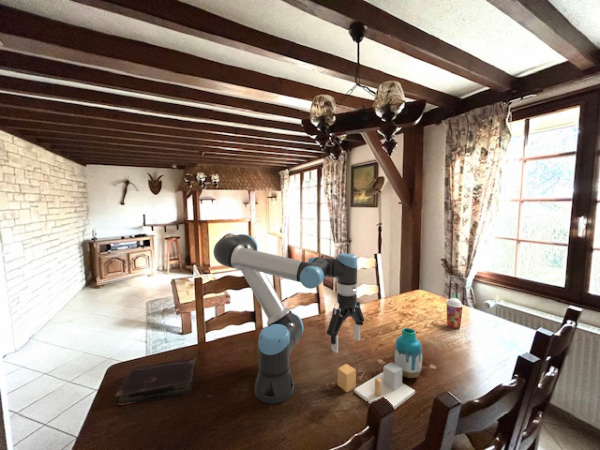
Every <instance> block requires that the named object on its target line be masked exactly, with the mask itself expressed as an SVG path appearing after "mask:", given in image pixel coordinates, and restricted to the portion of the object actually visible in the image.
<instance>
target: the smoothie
mask: <svg viewBox="0 0 600 450" xmlns="http://www.w3.org/2000/svg"><path fill="white" fill-rule="evenodd" d="M463 307H464V305H463V303H462V301H461V300H460V299H458V298H457V297H456V293H453V297H451V298H449V299H448V300H447V301H446V324H447V326H448V327H449V328H450V327H451V328H450V329H453V328H454V329H453V330H457V329H460V327H461V324H462V315H463V309H464V308H463Z"/></svg>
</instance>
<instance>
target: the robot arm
mask: <svg viewBox="0 0 600 450" xmlns="http://www.w3.org/2000/svg"><path fill="white" fill-rule="evenodd" d="M213 257H214V259H215V260H216V262H217V263H218V264H220V265H222V266H224V267H228V268H231V269H236V271H237V270H238V271H240V272H241V273H242V275H243V276H244V278H245V280H246V282H247V284H248V285H249V288H250V289H251V291H252V292H253V295H254V296H255V298H256V300H257V301H258V304H259V305H260V306H261V309H262V310H263V312H264V314H265V316H266V317H267V322H266V325H267V326H265V327H264V328H262V329H261V331H260V332H259V335H258V342H257V345H258V346H257V347H258V372H257V377H256V379H255V383H254V394H255V397H256V398H257V399H258V400H259V401H261V402H262V403H265V404H271V405H273V404H274V405H275V404H281V403H283V402H285V401H287V400H288V399H290V398H291V397H292V395H293V393H294V392H295V391H294V390H295V382H294V378H293V376H292V372H291V368H290V354H291V352H292V351H293V349H294V348H295V347H296V345H297V343H298V342H299V341H300V340H301V338H302V335H303V333H304V323H303V320H302V319H301V318H300V316H299V315H298V314H295V313H294V312H292V310H291V309H290V308H288V307H286V306H285V305H284V303H283V302H282V300H281V298H280V297H279V295H278V293H277V291H276V290H275V288H274V286H273V285H272V283H271V280H270V279H269V277H268V276H267V275H270V276H274V277H278V278H282V279H286V280H291V281H295V282H297V283H300V284H302V287H305V288H307V289H309V290H310V289H311V290H312V289H315V288H317V287H319V286H321V284H322V283H323V282H324V280H325V279H326V278H335V279H337V285H336V286H337V291H336V292H337V293H336V294H337V296H336V298H337V299H336V300H337V303H338V308H335V307H333V309H332V315H331V318H330V321H329V324H328V328H327V330H326V335H328V336H330V344H331V351H333V353H336V354H338V353H339V334H338V333H339V331H340V329H341V327H342V325H343V323H344V321H346V319H348V318H349V317H351V318H352V320H353V321H354V323H353V339H354V340H356V341H357V342H360V341H361V327H362V326H363V325H364V322H365V318H364V315H363V312H362V308H361V303H360V302H359V301H357V299H358V298H357V293H358V292H357V291H358V290H357V289H358V288H357V287H358V257H357V255H355V254H354V253H339V254H338V255H337V258H334V257H333V258H330V257H329V258H328V257H321V256H320V257H319V256H316V257H315V256H311V257H310V258H309V259H308V260H307V262H306V261H303V260H302V261H301V260H298V259H294V258H289V257H285V256H281V255H277V254H272V253H267V252H264V251H263V252H262V251H260V250H259V251H258V244H257V241H256V240H255V239H254V237H252V236H251V235H249V234H243V233H241V234H236V235H232V236H227V237H223V238H220V239H219V240H218V241H217V242H216V243H215V244H214V247H213Z"/></svg>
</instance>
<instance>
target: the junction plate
mask: <svg viewBox="0 0 600 450" xmlns="http://www.w3.org/2000/svg"><path fill="white" fill-rule="evenodd" d="M382 369H383V371H382V372H381V373H379V374H377V375H375V376H374V377H372V378H370V379H368V380H367V381H366V382H364V383H362V384H360V385H358V386H356V387H355V388H354V389H353V391H354V393H355V394H356V395H357V396H359V397H360V398H361V399H363V400H364V401H365V402H367V401H368V402H367V403H368V404H369V403H370V402H372V401H374V400H377V399H379V398H381V397H384V398H385V399H387V400H388V401H389V402H390V403H391V404H392V405H393V406H394V407H395V409H397V408H398V407H400V406H401V405H402V404H403V403H405V402H406V401H408V399H410V398H411V397H413V396H414V395H415V394H416V390H415V389H413V388H412V387H410V386H409V385H407V384H405V383H403V376H402V368H401V367H399V366H398V365H396V364H395V362H392V361H390V362H389V363H387V364H385V365H384V366H383V368H382Z"/></svg>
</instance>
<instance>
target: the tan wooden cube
mask: <svg viewBox="0 0 600 450" xmlns="http://www.w3.org/2000/svg"><path fill="white" fill-rule="evenodd" d="M337 386H338V387H339V388H341V389H342V390H343V391H344V392H345V393H348V392H350V391H352V390H354V389H355V388H357V370H356V368H354V367H352V366H350V365H349V364H348V363H345V364H343V365H341V366H339V367H337Z"/></svg>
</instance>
